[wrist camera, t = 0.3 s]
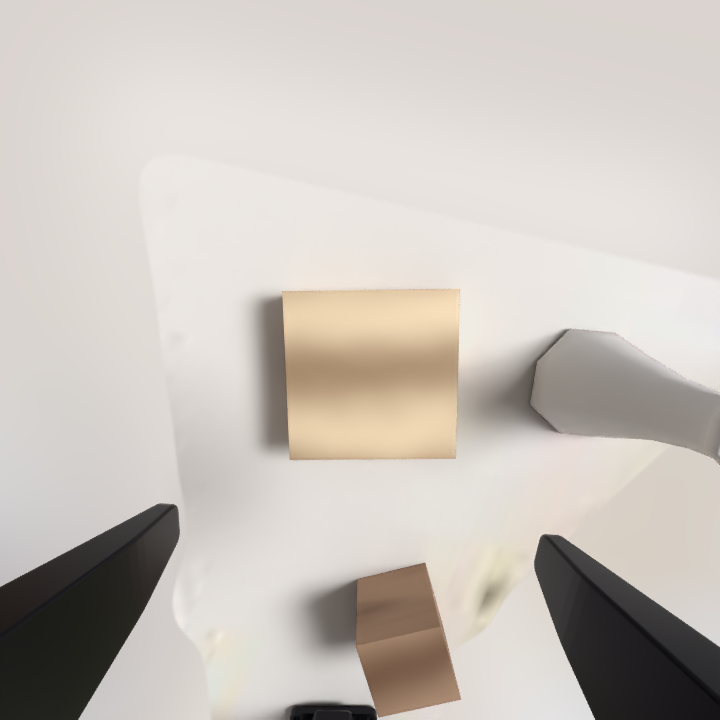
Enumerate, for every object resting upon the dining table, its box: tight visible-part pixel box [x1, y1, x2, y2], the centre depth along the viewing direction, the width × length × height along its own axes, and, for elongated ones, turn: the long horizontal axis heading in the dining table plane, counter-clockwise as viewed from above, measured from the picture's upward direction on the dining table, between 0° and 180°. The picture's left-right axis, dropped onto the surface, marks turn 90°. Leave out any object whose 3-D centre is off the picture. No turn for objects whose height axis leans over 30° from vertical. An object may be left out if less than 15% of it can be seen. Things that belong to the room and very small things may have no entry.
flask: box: [530, 329, 720, 465], centre depth 17 cm, size 7×7×10 cm
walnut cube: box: [356, 563, 461, 717], centre depth 22 cm, size 5×5×5 cm
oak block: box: [282, 289, 460, 460], centre depth 21 cm, size 10×10×3 cm
